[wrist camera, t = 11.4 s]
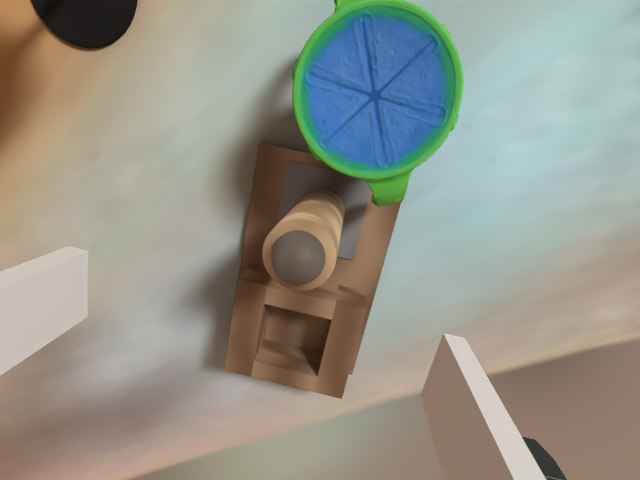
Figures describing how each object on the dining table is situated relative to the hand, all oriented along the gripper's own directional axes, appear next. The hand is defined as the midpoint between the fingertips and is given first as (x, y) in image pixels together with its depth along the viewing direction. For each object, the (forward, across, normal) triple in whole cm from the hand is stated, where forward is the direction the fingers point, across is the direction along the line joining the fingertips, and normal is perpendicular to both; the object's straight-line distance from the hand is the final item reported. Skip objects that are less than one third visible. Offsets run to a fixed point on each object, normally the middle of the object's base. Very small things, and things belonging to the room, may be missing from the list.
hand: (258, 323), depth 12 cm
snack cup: (+22, +3, +10) cm, 25 cm away
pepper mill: (+21, +1, 0) cm, 21 cm away
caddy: (+22, +1, -6) cm, 23 cm away
